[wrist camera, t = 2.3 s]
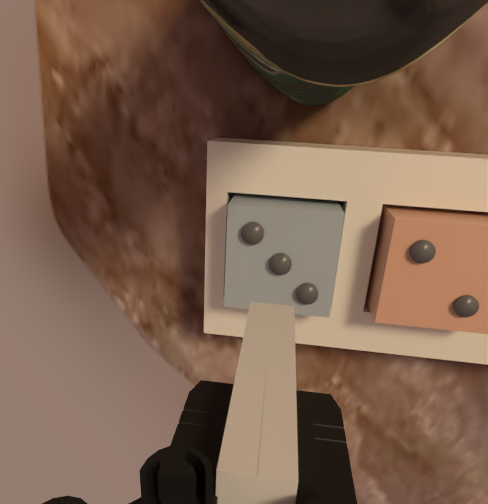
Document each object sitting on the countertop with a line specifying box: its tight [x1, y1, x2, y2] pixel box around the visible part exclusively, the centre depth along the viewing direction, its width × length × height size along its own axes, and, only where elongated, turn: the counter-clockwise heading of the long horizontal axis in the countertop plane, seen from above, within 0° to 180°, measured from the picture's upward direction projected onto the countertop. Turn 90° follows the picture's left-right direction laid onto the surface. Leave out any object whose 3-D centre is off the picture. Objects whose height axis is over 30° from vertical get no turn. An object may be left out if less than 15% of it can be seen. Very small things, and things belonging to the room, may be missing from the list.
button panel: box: [204, 137, 488, 365], centre depth 23 cm, size 12×26×3 cm, turn 87°
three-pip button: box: [224, 193, 345, 318], centre depth 22 cm, size 6×6×3 cm
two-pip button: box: [366, 205, 488, 334], centre depth 21 cm, size 6×6×3 cm
